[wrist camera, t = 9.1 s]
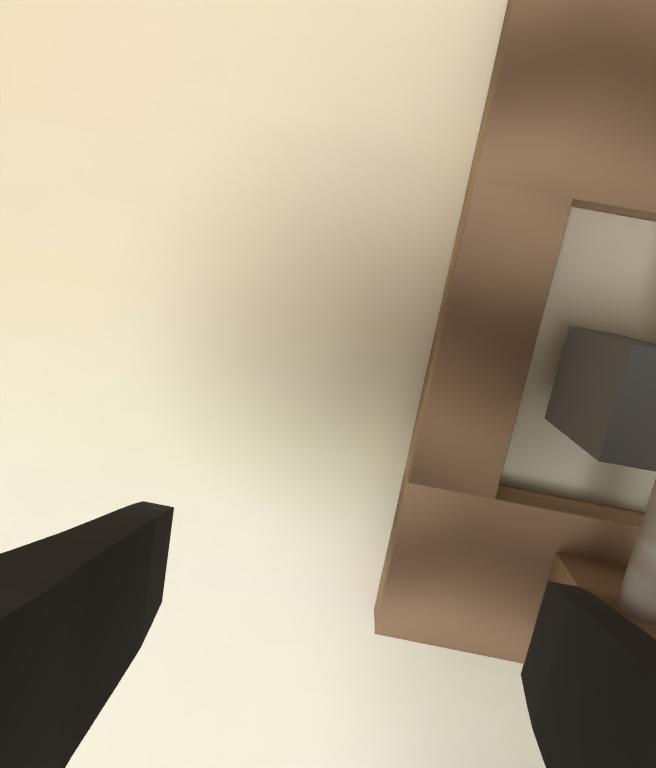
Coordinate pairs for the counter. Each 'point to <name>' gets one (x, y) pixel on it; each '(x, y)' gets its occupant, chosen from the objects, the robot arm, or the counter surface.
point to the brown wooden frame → (523, 340)
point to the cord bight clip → (607, 397)
